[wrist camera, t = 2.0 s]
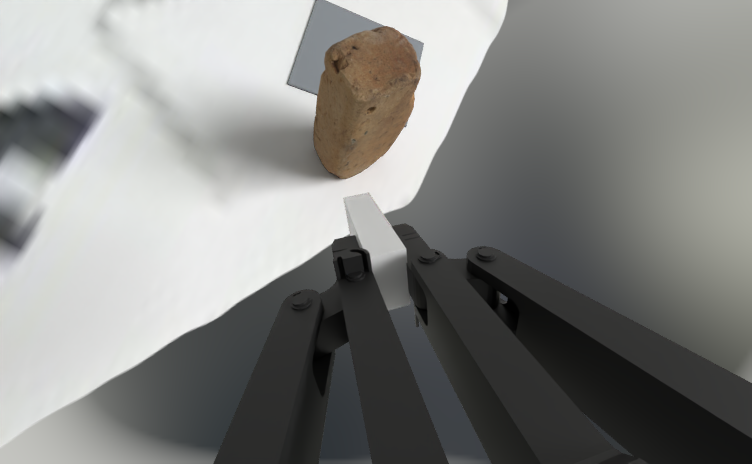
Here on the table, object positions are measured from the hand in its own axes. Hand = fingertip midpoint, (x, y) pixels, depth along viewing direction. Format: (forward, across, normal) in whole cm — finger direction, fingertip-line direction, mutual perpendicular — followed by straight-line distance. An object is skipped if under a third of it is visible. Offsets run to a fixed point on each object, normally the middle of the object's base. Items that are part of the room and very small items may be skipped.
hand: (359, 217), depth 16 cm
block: (+30, +4, -3) cm, 30 cm away
